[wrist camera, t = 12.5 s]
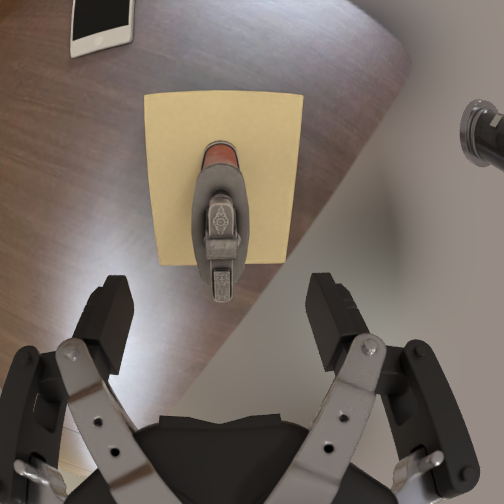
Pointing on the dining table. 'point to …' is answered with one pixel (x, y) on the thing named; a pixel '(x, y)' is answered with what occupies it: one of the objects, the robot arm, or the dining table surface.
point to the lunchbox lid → (250, 159)
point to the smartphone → (100, 25)
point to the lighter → (220, 219)
